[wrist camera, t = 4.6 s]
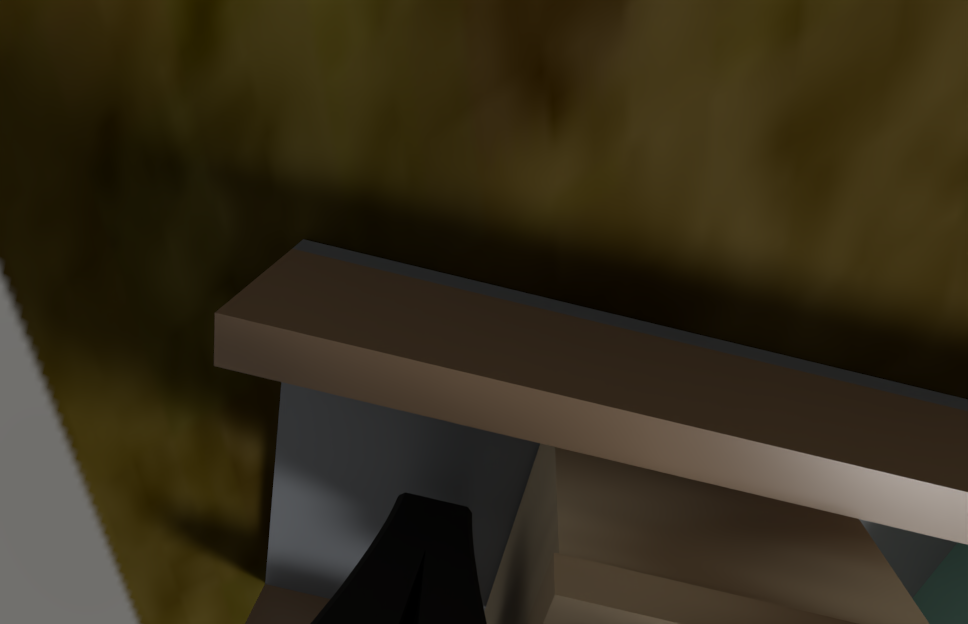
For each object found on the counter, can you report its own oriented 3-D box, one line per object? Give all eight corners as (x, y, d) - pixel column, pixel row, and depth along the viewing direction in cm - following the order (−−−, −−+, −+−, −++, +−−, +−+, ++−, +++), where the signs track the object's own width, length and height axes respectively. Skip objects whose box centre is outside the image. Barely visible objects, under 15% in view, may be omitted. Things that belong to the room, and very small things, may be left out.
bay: (1079, 426, 10) (1276, 565, 7) (834, 718, 14) (905, 881, 11) (303, 239, 10) (215, 312, 7) (272, 588, 14) (207, 722, 11)
